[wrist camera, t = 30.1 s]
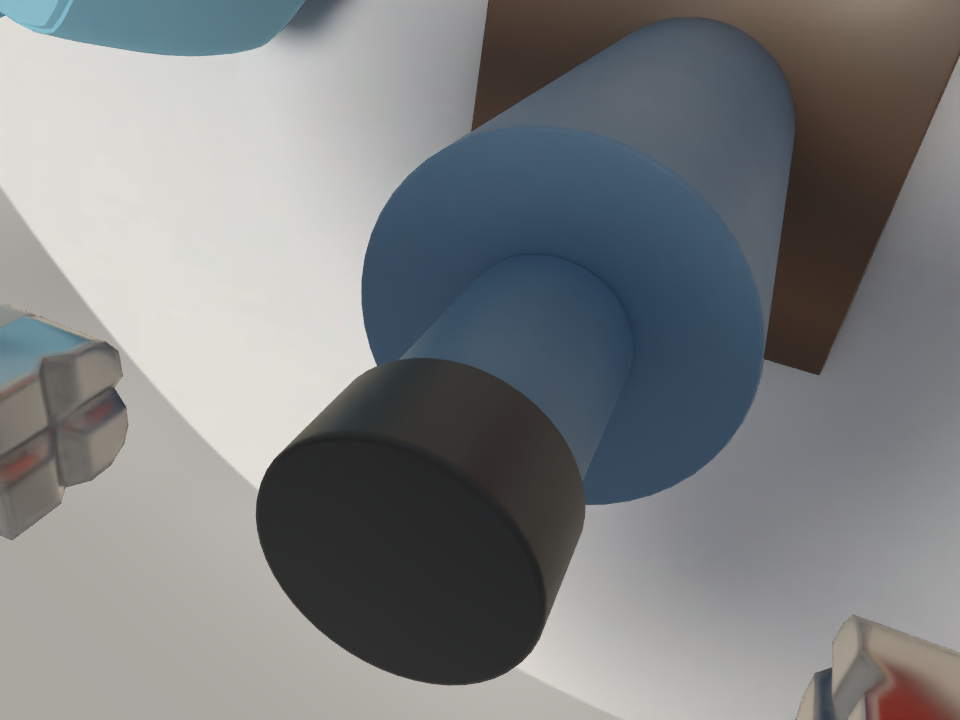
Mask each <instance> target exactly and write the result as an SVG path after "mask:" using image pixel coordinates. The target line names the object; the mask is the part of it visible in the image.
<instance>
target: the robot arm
mask: <svg viewBox="0 0 960 720" xmlns="http://www.w3.org/2000/svg"><path fill="white" fill-rule="evenodd" d="M122 377H123V373H122V368H121V361H120V355H119V351H118V350H116V349H115V348H114V347H112V346H111V345H109V344H108V343H107V342H105V341H102V340H99V339H97V338H94V337H92V336H90V335H87V334H85V333H82V332H79V331H77V330H74V329H72V328H69V327H66V326H64V325H61V324H59V323H57V322H54V321H51V320H49V319H47V318H44V317H41V316H36V315H34V314H32V313H29V312H27V311H24V310H22V309H19V308H17V307H14V306H12V305H9V304H0V535H1V536H3V537H5V538H8V539H10V540H13V539H15V538H16V537H17V536H19V535H20V534H21V533H23V532H24V531H25V530H27V529H28V528H29V527H30V526H32V525H33V524H35V523H36V522H37V521H39V520H40V519H41V518H43V517H44V516H45V515H47V514H48V513H49V512H51V511H52V510H53V509H55V508H56V507H57V506H59V505H60V504H61V501H62V498H63V495H64V491H65V488H66V487H69V486H73V485H76V484H81V483H84V482H87V481H91V480H93V479H94V478H95V477H97V476H98V475H99V474H100V473H102V472H103V471H104V470H105V469H107V468H108V467H109V466H111V464H112V462H113V461H114V459H115V458H116V456H117V455H118V453H119V452H120V450H121V448H122V447H123V445H124V443H125V438H126V433H127V429H128V417H127V408H126V406H125V404H124V403H123V401H122V400H121V398H120V396H119V395H118V393H117V391H116V390H115V388H114V387H115V385H117V383H118V382H119V381H120V379H121V378H122ZM795 720H960V652H957V651H954V650H952V649H949V648H946V647H943V646H940V645H938V644H935V643H932V642H929V641H926V640H924V639H921V638H918V637H915V636H912V635H910V634H907V633H904V632H901V631H898V630H896V629H893V628H890V627H887V626H884V625H882V624H879V623H876V622H873V621H870V620H868V619H865V618H862V617H859V616H856V615H854V614H853V615H852V616H851V617H849V618H848V619H847V620H846V621H845V622H844V623H843V625H842V626H841V628H840V630H839V632H838V633H837V635H836V637H835V638H834V640H833V642H832V667H831V668H828V669H825V670H823V671H820V672H817V673H815V674H814V676H813V678H812V680H811V682H810V684H809V685H808V687H807V689H806V691H805V693H804V695H803V697H802V700H801V704H800V707H799V710H798V713H797V716H796V719H795Z"/></svg>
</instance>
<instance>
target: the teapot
mask: <svg viewBox="0 0 960 720" xmlns="http://www.w3.org/2000/svg"><path fill="white" fill-rule="evenodd" d="M305 1H306V0H0V18H1V17H3V16H5V15H6V16H7V17H9V18H10V19H12V20H13V21H15V22H16V23H18V24H20V25H22V26H24V27H26V28H28V29H30V30H32V31H34V32H38V33H42V34H46V35H50V36H55V37H59V38H63V39H68V40H72V41H77V42H83V43H88V44H94V45H100V46H106V47H112V48H118V49H124V50H130V51H136V52H144V53H152V54H160V55H175V56H208V55H222V54H232V53H237V52H242V51H247V50H251V49H255V48H258V47H261V46H262V45H264V44H266V43H268V42H269V41H270V40H271V39H272V38H273V37H275V36H276V35H277V34H278V33H279V32H280V31H281V30H282V29H283V28H284V27H285V26H286V25H287V24H288V23H289V22H290V21H291V19H292V18H293V17H294V16H295V14H296V13H297V12H298V10H299V9H300V7H301V6H302V5H303V3H304V2H305Z"/></svg>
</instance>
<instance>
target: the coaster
mask: <svg viewBox="0 0 960 720" xmlns="http://www.w3.org/2000/svg"><path fill="white" fill-rule="evenodd" d="M679 17H698V18H706V19H712V20H716V21H719V22H723V23H726V24H728V25H731V26H733V27H735V28H738V29H740V30H741V31H743V32H745V33H746V34H748V35H749V36H751V37H753V38H754V39H755V40H756V41H757V42H758V43H760V44H761V45H762V46H763V47H764V48H765V49H766V50H767V51H768V52H769V53H770V55H771V56H772V57H773V58H774V59H775V61H776V62H777V64H778V65H779V67H780V68H781V70H782V72H783V74H784V76H785V78H786V80H787V82H788V85H789V87H790V91H791V94H792V98H793V102H794V109H795V138H794V145H793V152H792V159H791V166H790V173H789V181H788V188H787V195H786V202H785V209H784V216H783V223H782V231H781V238H780V245H779V252H778V259H777V266H776V274H775V281H774V288H773V295H772V302H771V309H770V317H769V324H768V331H767V338H766V345H765V352H764V359H765V360H769V361H772V362H775V363H779V364H782V365H785V366H789V367H792V368H796V369H799V370H802V371H806V372H809V373H812V374H816V375H820V374H821V371H822V369H823V367H824V365H825V362H826V360H827V358H828V355H829V353H830V351H831V349H832V346H833V344H834V342H835V339H836V337H837V335H838V333H839V330H840V328H841V326H842V323H843V321H844V319H845V317H846V314H847V312H848V310H849V307H850V305H851V303H852V301H853V298H854V296H855V294H856V291H857V289H858V287H859V285H860V282H861V280H862V278H863V275H864V273H865V271H866V269H867V266H868V264H869V262H870V259H871V257H872V255H873V253H874V250H875V248H876V246H877V243H878V241H879V239H880V237H881V234H882V232H883V230H884V228H885V225H886V223H887V221H888V218H889V216H890V214H891V212H892V209H893V207H894V205H895V202H896V200H897V198H898V196H899V193H900V191H901V189H902V186H903V184H904V182H905V180H906V177H907V175H908V173H909V170H910V168H911V166H912V164H913V161H914V159H915V157H916V154H917V152H918V150H919V148H920V145H921V143H922V141H923V138H924V136H925V134H926V132H927V129H928V127H929V125H930V122H931V120H932V118H933V116H934V113H935V111H936V109H937V106H938V104H939V102H940V100H941V97H942V95H943V93H944V91H945V88H946V86H947V84H948V81H949V79H950V77H951V75H952V72H953V70H954V68H955V65H956V63H957V61H958V59H959V56H960V0H489V1H488V9H487V16H486V24H485V31H484V39H483V47H482V54H481V62H480V69H479V77H478V84H477V92H476V99H475V107H474V115H473V122H472V130H471V132H472V131H474V130H475V129H477V128H478V127H480V126H482V125H483V124H485V123H487V122H488V121H490V120H491V119H493V118H495V117H496V116H498V115H499V114H501V113H503V112H504V111H506V110H508V109H509V108H511V107H512V106H514V105H516V104H517V103H519V102H520V101H522V100H524V99H525V98H527V97H529V96H530V95H532V94H533V93H535V92H537V91H538V90H540V89H541V88H543V87H545V86H546V85H548V84H550V83H551V82H553V81H554V80H556V79H558V78H559V77H561V76H562V75H564V74H566V73H567V72H569V71H571V70H572V69H574V68H575V67H577V66H579V65H580V64H582V63H583V62H585V61H587V60H588V59H590V58H592V57H593V56H595V55H596V54H598V53H600V52H601V51H603V50H604V49H606V48H608V47H609V46H611V45H613V44H614V43H616V42H617V41H619V40H621V39H622V38H624V37H625V36H627V35H629V34H630V33H632V32H634V31H635V30H637V29H640V28H642V27H644V26H646V25H649V24H651V23H655V22H658V21H662V20H665V19H672V18H679Z"/></svg>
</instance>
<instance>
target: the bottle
mask: <svg viewBox="0 0 960 720" xmlns="http://www.w3.org/2000/svg"><path fill="white" fill-rule="evenodd" d="M794 138H795V109H794V102H793V98H792V94H791V91H790V87H789V85H788V82H787V80H786V78H785V76H784V74H783V72H782V70H781V68H780V67H779V65H778V64H777V62H776V61H775V59H774V58H773V57H772V56H771V55H770V53H769V52H768V51H767V50H766V49H765V48H764V47H763V46H762V45H761V44H760V43H758V42H757V41H756V40H755V39H754V38H753V37H751V36H749V35H748V34H746V33H745V32H743V31H741V30H740V29H738V28H735V27H733V26H731V25H728V24H726V23H723V22H719V21H716V20H712V19H706V18H698V17H679V18H672V19H665V20H662V21H658V22H655V23H651V24H649V25H646V26H644V27H642V28H640V29H637V30H635V31H634V32H632V33H630V34H629V35H627V36H625V37H624V38H622V39H621V40H619V41H617V42H616V43H614V44H613V45H611V46H609V47H608V48H606V49H604V50H603V51H601V52H600V53H598V54H596V55H595V56H593V57H592V58H590V59H588V60H587V61H585V62H583V63H582V64H580V65H579V66H577V67H575V68H574V69H572V70H571V71H569V72H567V73H566V74H564V75H562V76H561V77H559V78H558V79H556V80H554V81H553V82H551V83H550V84H548V85H546V86H545V87H543V88H541V89H540V90H538V91H537V92H535V93H533V94H532V95H530V96H529V97H527V98H525V99H524V100H522V101H520V102H519V103H517V104H516V105H514V106H512V107H511V108H509V109H508V110H506V111H504V112H503V113H501V114H499V115H498V116H496V117H495V118H493V119H491V120H490V121H488V122H487V123H485V124H483V125H482V126H480V127H478V128H477V129H475V130H474V131H472V132H470V133H469V134H467V135H466V136H464V137H462V138H461V139H459V140H457V141H456V142H454V143H453V144H451V145H449V146H448V147H446V148H445V149H443V150H441V151H440V152H438V153H436V154H435V155H433V156H432V157H430V158H428V159H427V160H426V161H425V162H424V163H422V164H421V165H420V166H419V167H418V168H416V169H415V170H414V171H413V172H412V173H411V174H409V175H408V177H407V178H406V179H405V180H404V181H403V182H402V183H401V185H400V186H399V187H398V188H397V189H396V190H395V191H394V193H393V194H392V196H391V197H390V199H389V200H388V202H387V204H386V205H385V207H384V208H383V210H382V211H381V213H380V215H379V218H378V220H377V222H376V224H375V227H374V229H373V231H372V233H371V236H370V240H369V244H368V247H367V251H366V254H365V259H364V267H363V274H362V310H363V317H364V325H365V329H366V333H367V337H368V341H369V345H370V349H371V351H372V354H373V356H374V359H375V362H376V364H377V367H374V368H372V369H370V370H368V371H366V372H365V373H363V374H362V375H360V376H359V377H357V378H356V379H355V380H354V381H353V382H352V383H351V384H350V385H349V386H348V387H347V388H346V389H345V390H344V391H343V392H342V393H340V394H339V395H338V396H337V397H336V398H335V399H334V400H333V401H332V402H331V403H330V404H329V405H328V406H327V407H326V408H325V409H324V410H323V411H322V412H321V413H320V414H319V415H318V416H317V417H316V418H315V419H314V420H313V421H312V422H311V423H310V424H309V425H308V426H307V427H306V428H305V429H304V430H303V431H302V432H301V433H300V434H299V435H298V436H297V437H296V438H295V439H294V440H293V441H292V442H291V443H290V444H289V445H288V446H287V447H286V448H285V449H284V450H283V451H282V452H281V453H280V454H279V455H278V456H277V457H276V458H275V459H274V460H273V462H272V463H271V465H270V466H269V468H268V469H267V471H266V473H265V475H264V477H263V480H262V482H261V485H260V489H259V493H258V498H257V504H256V522H257V531H258V535H259V539H260V544H261V547H262V549H263V552H264V555H265V558H266V560H267V562H268V565H269V567H270V569H271V571H272V573H273V575H274V576H275V578H276V580H277V581H278V583H279V584H280V586H281V588H282V589H283V591H284V592H285V593H286V595H287V596H288V597H289V599H290V600H291V601H292V603H293V604H294V605H295V606H296V607H297V608H298V609H299V611H300V612H301V613H302V614H303V615H304V616H305V617H306V618H307V619H308V620H309V621H310V622H311V623H312V624H313V625H314V626H315V627H316V628H317V629H318V630H320V631H321V632H322V633H323V634H325V635H326V636H327V637H328V638H329V639H331V640H332V641H333V642H335V643H336V644H338V645H339V646H341V647H342V648H344V649H345V650H346V651H348V652H349V653H351V654H353V655H355V656H356V657H358V658H360V659H361V660H363V661H365V662H367V663H369V664H371V665H373V666H375V667H377V668H379V669H382V670H384V671H387V672H390V673H392V674H395V675H397V676H401V677H404V678H408V679H411V680H415V681H419V682H425V683H430V684H439V685H467V684H474V683H481V682H484V681H487V680H491V679H494V678H496V677H498V676H501V675H503V674H505V673H507V672H508V671H510V670H511V669H513V668H514V667H515V666H517V665H518V664H519V663H521V662H522V661H523V660H524V659H525V658H526V657H527V656H528V655H529V654H530V653H531V652H532V650H533V649H534V647H535V645H536V644H537V642H538V641H539V639H540V637H541V634H542V631H543V629H544V626H545V624H546V621H547V619H548V616H549V614H550V611H551V609H552V606H553V604H554V601H555V598H556V596H557V593H558V591H559V588H560V586H561V583H562V581H563V578H564V576H565V573H566V571H567V568H568V566H569V563H570V560H571V558H572V555H573V553H574V550H575V548H576V545H577V543H578V540H579V537H580V535H581V532H582V529H583V524H584V518H585V505H605V504H612V503H619V502H626V501H631V500H635V499H639V498H642V497H646V496H650V495H653V494H655V493H658V492H660V491H662V490H665V489H667V488H670V487H672V486H674V485H676V484H678V483H679V482H681V481H683V480H684V479H686V478H688V477H690V476H691V475H693V474H695V473H696V472H697V471H698V470H700V469H701V468H702V467H703V466H705V465H706V464H707V463H709V462H710V461H711V460H712V459H713V458H714V457H715V456H716V455H717V454H718V453H719V452H720V451H721V450H722V449H723V448H724V447H725V446H726V445H727V444H728V443H729V442H730V440H731V439H732V437H733V436H734V434H735V433H736V431H737V430H738V429H739V427H740V426H741V424H742V423H743V421H744V419H745V417H746V415H747V413H748V411H749V409H750V407H751V405H752V403H753V401H754V398H755V394H756V391H757V388H758V385H759V381H760V378H761V374H762V367H763V359H764V352H765V345H766V338H767V331H768V324H769V317H770V309H771V302H772V295H773V288H774V281H775V274H776V266H777V259H778V252H779V245H780V238H781V231H782V223H783V216H784V209H785V202H786V195H787V188H788V181H789V173H790V166H791V159H792V152H793V145H794Z"/></svg>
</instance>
